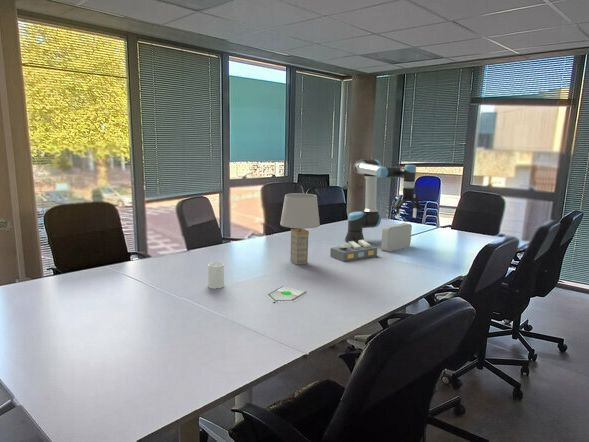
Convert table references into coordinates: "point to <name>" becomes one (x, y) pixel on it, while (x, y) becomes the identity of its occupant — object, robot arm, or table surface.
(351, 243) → the rocker
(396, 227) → the rounded white slab
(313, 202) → the lamp
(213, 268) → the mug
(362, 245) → the rocker
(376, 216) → the robot arm
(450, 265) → the table surface
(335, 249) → the switch unit
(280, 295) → the security device
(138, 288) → the table surface
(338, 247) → the rocker
